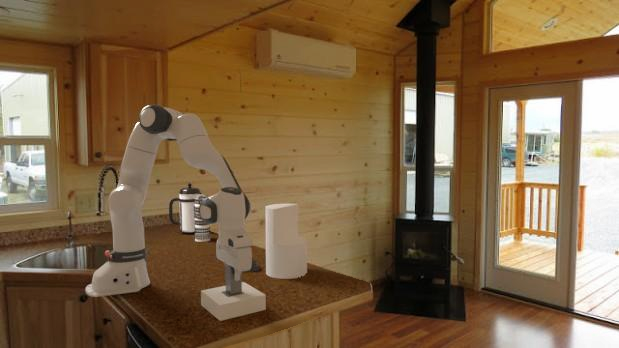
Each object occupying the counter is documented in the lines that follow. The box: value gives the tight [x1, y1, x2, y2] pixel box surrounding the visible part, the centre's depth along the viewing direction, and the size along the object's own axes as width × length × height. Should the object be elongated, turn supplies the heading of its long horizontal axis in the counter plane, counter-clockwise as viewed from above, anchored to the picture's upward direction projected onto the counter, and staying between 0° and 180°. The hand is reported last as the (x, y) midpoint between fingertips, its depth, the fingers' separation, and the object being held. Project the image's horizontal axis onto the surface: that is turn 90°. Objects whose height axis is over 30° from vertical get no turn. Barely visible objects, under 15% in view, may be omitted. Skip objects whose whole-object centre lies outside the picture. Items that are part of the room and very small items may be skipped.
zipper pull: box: [243, 257, 260, 273], centre depth 198 cm, size 9×7×25 cm
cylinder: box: [264, 203, 308, 280], centre depth 185 cm, size 17×17×28 cm
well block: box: [200, 281, 267, 322], centre depth 147 cm, size 16×16×5 cm
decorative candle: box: [194, 194, 212, 243], centre depth 245 cm, size 9×9×25 cm
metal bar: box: [224, 263, 243, 296], centre depth 147 cm, size 4×4×10 cm
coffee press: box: [168, 182, 203, 236], centre depth 263 cm, size 17×16×30 cm
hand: (233, 277), depth 147 cm, fingers closed on metal bar, 4 cm apart
